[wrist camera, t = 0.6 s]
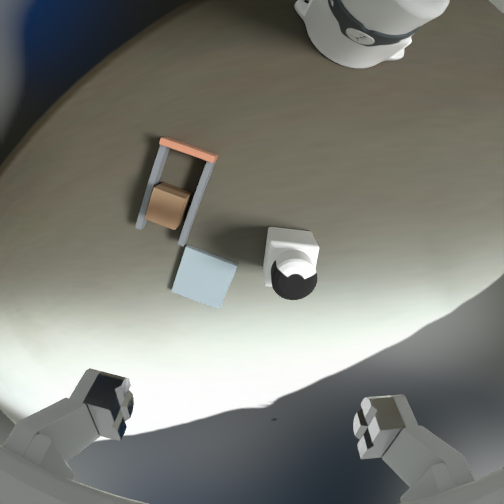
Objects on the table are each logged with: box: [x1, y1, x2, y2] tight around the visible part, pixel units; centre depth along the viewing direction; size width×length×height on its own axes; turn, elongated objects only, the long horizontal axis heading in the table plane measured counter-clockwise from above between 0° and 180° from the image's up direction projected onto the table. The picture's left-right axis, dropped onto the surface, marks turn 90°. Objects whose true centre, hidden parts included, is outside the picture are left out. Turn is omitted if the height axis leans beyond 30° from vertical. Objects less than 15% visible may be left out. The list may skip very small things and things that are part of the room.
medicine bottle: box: [263, 227, 319, 300], centre depth 45 cm, size 7×7×12 cm
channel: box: [135, 137, 218, 246], centre depth 46 cm, size 15×8×4 cm, turn 158°
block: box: [145, 182, 192, 230], centre depth 46 cm, size 5×5×5 cm
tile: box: [172, 245, 238, 309], centre depth 52 cm, size 9×9×1 cm
